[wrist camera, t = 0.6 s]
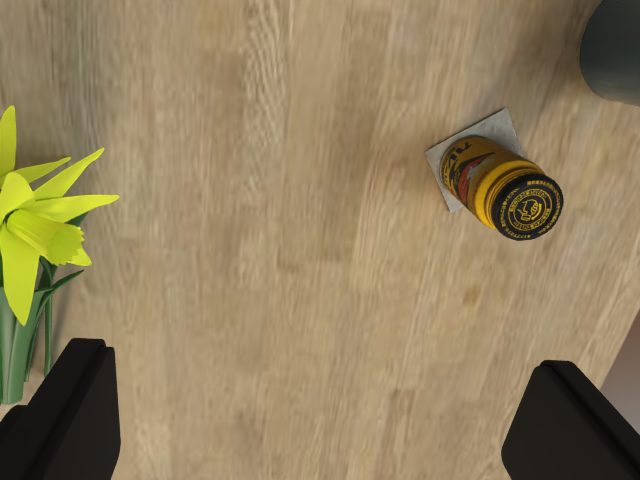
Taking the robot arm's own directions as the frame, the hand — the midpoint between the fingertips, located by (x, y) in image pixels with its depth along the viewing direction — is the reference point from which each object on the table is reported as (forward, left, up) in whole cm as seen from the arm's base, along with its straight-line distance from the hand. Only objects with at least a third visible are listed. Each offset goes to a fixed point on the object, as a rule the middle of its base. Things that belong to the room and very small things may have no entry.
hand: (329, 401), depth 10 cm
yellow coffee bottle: (+3, +19, -34) cm, 39 cm away
